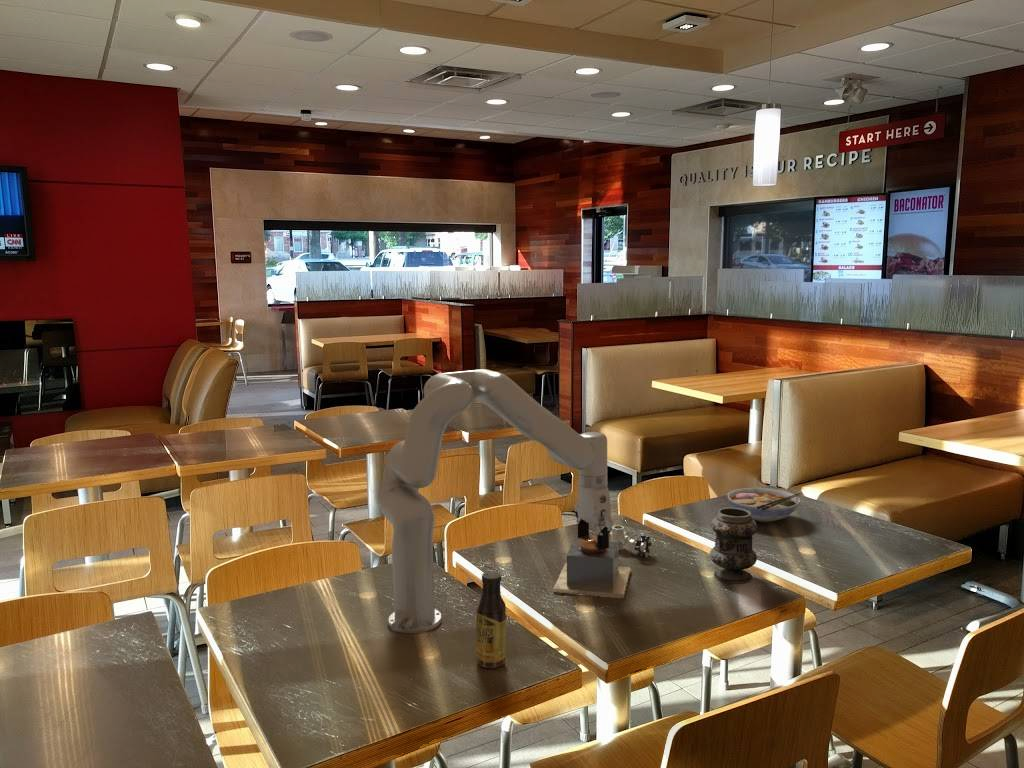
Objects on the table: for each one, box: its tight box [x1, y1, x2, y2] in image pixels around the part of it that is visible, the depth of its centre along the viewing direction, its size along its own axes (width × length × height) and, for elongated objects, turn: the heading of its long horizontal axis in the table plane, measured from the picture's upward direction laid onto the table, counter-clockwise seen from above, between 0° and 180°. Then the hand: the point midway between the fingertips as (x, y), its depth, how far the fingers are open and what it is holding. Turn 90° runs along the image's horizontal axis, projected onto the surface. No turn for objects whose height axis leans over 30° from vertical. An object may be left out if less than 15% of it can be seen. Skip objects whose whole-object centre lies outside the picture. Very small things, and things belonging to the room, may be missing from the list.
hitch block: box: [552, 539, 631, 599], centre depth 207 cm, size 18×18×9 cm
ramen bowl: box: [727, 487, 803, 523], centre depth 255 cm, size 25×23×8 cm
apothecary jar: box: [709, 507, 758, 584], centre depth 208 cm, size 12×12×18 cm
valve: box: [610, 525, 653, 558], centre depth 228 cm, size 7×7×12 cm
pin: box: [578, 534, 606, 553], centre depth 206 cm, size 7×7×10 cm
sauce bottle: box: [475, 570, 507, 670], centre depth 164 cm, size 7×6×20 cm
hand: (593, 543), depth 206 cm, fingers open, 9 cm apart
